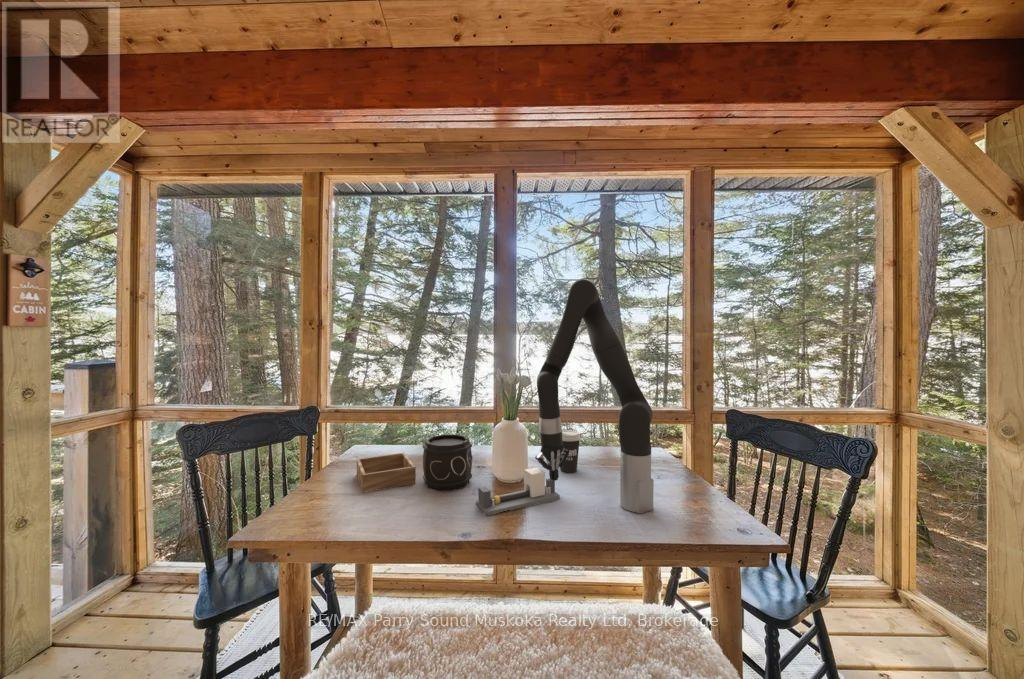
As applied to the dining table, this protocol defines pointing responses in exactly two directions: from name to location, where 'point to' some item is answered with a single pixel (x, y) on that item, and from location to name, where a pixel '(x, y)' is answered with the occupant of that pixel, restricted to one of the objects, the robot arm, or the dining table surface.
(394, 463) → the box
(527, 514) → the dining table surface
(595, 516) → the dining table surface
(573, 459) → the coffee cup
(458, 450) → the black canister
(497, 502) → the gray slide rail base
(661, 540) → the dining table surface
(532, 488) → the sleeve
